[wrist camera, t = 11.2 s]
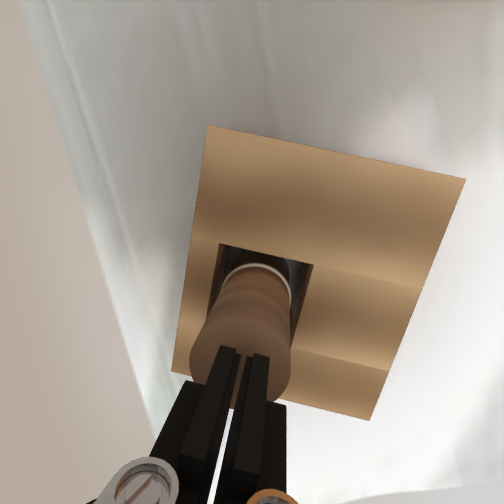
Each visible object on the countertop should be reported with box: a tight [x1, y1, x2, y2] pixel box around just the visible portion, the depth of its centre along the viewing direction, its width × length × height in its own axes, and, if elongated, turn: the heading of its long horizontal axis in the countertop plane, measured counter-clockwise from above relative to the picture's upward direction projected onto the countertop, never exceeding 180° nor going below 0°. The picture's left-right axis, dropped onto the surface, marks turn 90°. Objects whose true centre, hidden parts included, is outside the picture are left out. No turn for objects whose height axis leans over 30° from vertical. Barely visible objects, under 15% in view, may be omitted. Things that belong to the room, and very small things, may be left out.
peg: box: [189, 250, 291, 409], centre depth 15 cm, size 4×4×10 cm
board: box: [171, 125, 466, 421], centre depth 18 cm, size 14×12×4 cm
